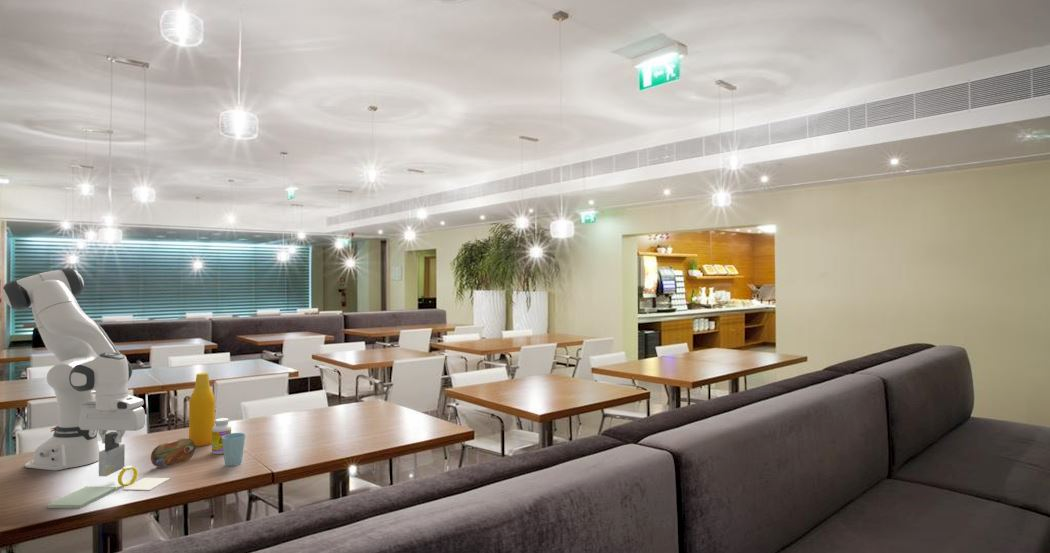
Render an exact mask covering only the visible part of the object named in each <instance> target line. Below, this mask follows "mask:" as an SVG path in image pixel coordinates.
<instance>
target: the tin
mask: <svg viewBox="0 0 1050 553" xmlns="http://www.w3.org/2000/svg"><path fill="white" fill-rule="evenodd" d="M195 451H196V446H195V444H194V442H193V441H192V440H190V439H189V438H180V439H177V440H172V441H169V442H165V443H161V444H159V445H157V446H156V447H154V449H153V450H152V452H151V454H150V462H151V464H152V465H153V466H154V467H157V468H159V469H162V468H168V467H171V466H174V465H178V464H181V463H184V462H187V461H189V460H190V459H191V458H192V457H193V455H194V454H195Z"/></svg>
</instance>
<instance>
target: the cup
mask: <svg viewBox="0 0 1050 553" xmlns="http://www.w3.org/2000/svg"><path fill="white" fill-rule="evenodd" d="M245 440H246V434H245V433H244V432H231V434H227V435H224V436H222V443H223V451H224V453H223V458H224V465H225V466H226V467H235V466H238V465H241V464H242V462H243V455H244V446H245V442H246V441H245Z"/></svg>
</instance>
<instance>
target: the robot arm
mask: <svg viewBox="0 0 1050 553" xmlns="http://www.w3.org/2000/svg"><path fill="white" fill-rule="evenodd" d="M84 285H85V282H84V279H83V277H82V275H81V274H80V273H79V272H78V270H77V269H75V268H72V267H70V268H69V267H68V268H67V267H65V268H61V269H58V270H57V269H55V270H49V271H44V272H41V273H40V272H39V273H38V274H33V275H31V276H26V277H24V278H20V279H17V280H16V279H14V280H11V281H8V282H7V283H5V284H4V286H2V287H3V288H2V299H3V300H4V302H5V303H6V304H7V306H8V307H10V308H11V309H13V310H17V311H22V310H23V311H24V310H28V309H29V308H31V311H32V317H33V319H34V322H35V325H36V328H37V330H38V333H39V335H40V337H41V340H42V342H43V344H44V346H45V348H46V350H48V351H49V352H50V353H52V354H53V355H54V356H55V357H56V358H57V359H58V360H59V362H57V363H56V364H54V365H53V366H52V367H51V368H50V369H49V370H48V372H47V374H46V382H47V384H48V385H49V386H50V387H51V388H52V389H53V392H54V395H55V399H56V401H57V413H58V414H57V417H58V418H57V424H58V425H56V426H55V427H53V428H52V427H51V428H50V432H51V433H52V432H54V433H53V435H52V436H51V437H50V438H48V439H47V440H46V441H45V442H43V443H42V444H40V445H39V446H37V447H36V448H35V450H34V455H33V459H32V460H30V461H27V462H26V463H25V465H24V468H29V469H37V470H46V471H47V470H48V471H61V470H66V469H69V468H77V467H82V466H86V465H90V464H93V463H96V462H99V452H100V451H101V450H100V446H99V442H98V434H99V437H100V438H101V443H102V444H105V434H107V432H109V431H115V432H117V434H118V435H117V437H116V438H114V439H113V441H114V442H113V443H114V444H122V441H123V436H124V435H125V433H126V431H127V432H130V431H131V432H133V431H134V432H136V431H139V430H142V429H143V428H144V427H145V425H146V412H145V409H144V407H142V406H144V404H145V401H144V399H143V398H140V397H138V396H135V395H133V394H129V387H128V382H129V380H130V379H131V377H132V374H133V366H132V364H131V363H130V362H129V360H128V359H127V356H126V355H125V354H123V353H121V352H120V351H119V349H118V348H117V347H116V346H115V344H114V342H113V341H112V340H111V338H110V337H109V335H108V334H107V332H105V330H104V328H103V327H102V326H101V325H100V324H99V323H98V322H97V321H95V320H93V319H92V318H91V317H90V316H88V314H86V313H85V311H84V310H83V309H82V308H81V307H80V305H79V303H78V302H79V301H77V299H76V297H78V296H79V295H81V293H82V292H83V291H84ZM92 391H95V397H94V395H93V393H92Z"/></svg>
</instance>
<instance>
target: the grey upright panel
mask: <svg viewBox="0 0 1050 553" xmlns="http://www.w3.org/2000/svg"><path fill="white" fill-rule="evenodd" d="M106 433H107V432H106ZM117 435H118V434H117V432H116V431H111V432H108V433H107V434H105V443H104V449H103V450H99V451H100V452H99V460H98V477H107V476H110V475H112V474H114V473H117V472H118V471H120V470H121V471H122V470H123V467H125V456H126V455H125V452H126V451H125V444H122V443H119V444H114V443H113V442H114V441H113V439H114V438H116V437H117Z"/></svg>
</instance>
